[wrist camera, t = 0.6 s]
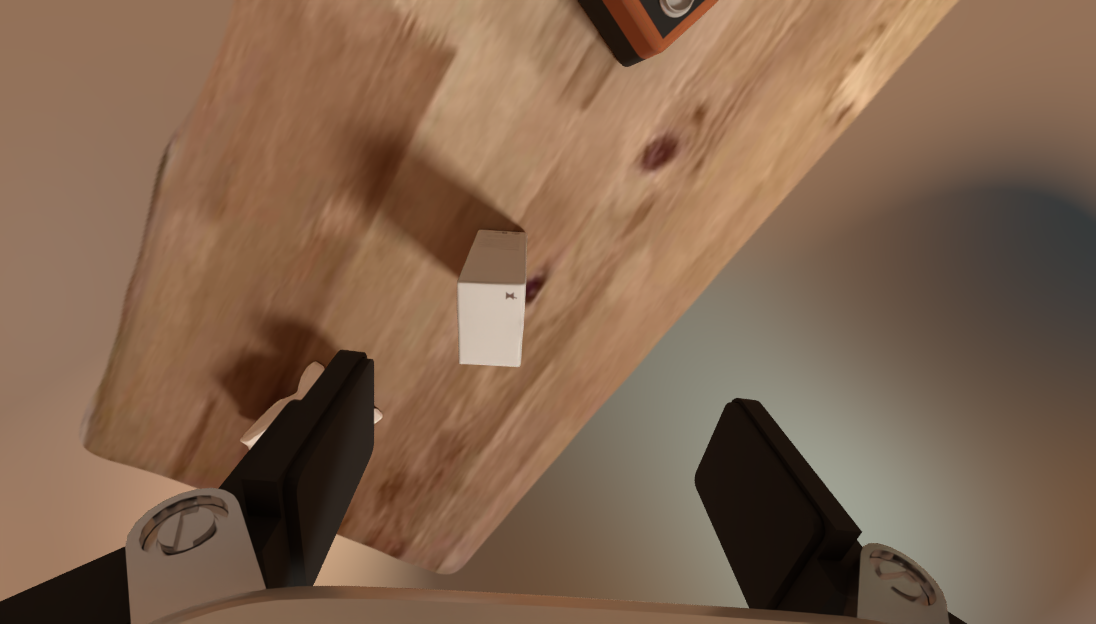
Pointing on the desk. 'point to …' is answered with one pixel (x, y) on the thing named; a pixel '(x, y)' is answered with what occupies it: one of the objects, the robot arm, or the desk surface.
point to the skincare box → (492, 299)
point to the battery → (643, 24)
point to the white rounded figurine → (266, 419)
